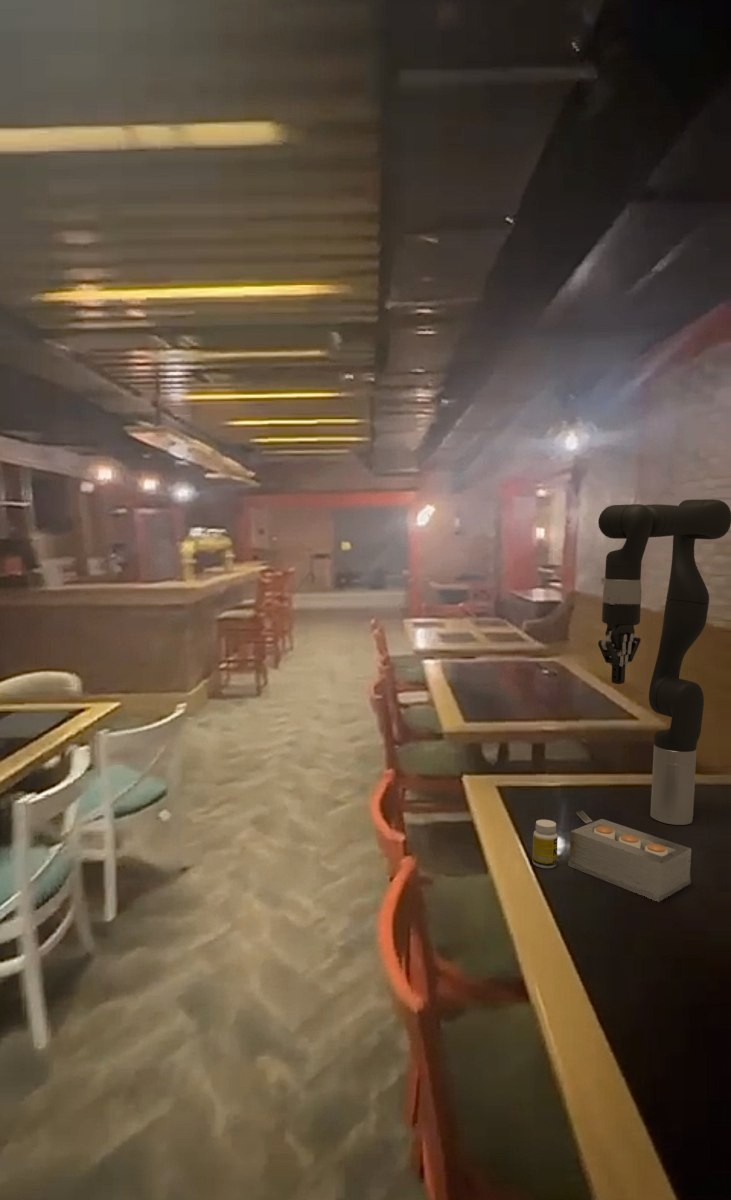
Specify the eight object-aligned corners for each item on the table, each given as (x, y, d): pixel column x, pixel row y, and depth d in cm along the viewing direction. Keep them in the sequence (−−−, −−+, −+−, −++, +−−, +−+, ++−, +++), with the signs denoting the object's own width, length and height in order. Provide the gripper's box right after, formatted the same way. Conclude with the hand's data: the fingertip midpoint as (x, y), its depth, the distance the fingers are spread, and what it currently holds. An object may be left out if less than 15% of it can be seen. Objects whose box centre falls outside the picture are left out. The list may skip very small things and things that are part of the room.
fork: (637, 843, 160) (638, 834, 160) (575, 820, 173) (575, 812, 173) (644, 840, 162) (644, 831, 162) (582, 818, 174) (582, 810, 174)
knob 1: (599, 852, 151) (601, 823, 150) (617, 858, 148) (618, 829, 147) (588, 857, 148) (589, 828, 148) (606, 864, 145) (607, 834, 145)
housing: (601, 850, 155) (603, 818, 154) (690, 883, 140) (692, 847, 140) (568, 865, 147) (569, 831, 147) (658, 902, 133) (660, 864, 132)
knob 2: (624, 861, 146) (625, 831, 146) (643, 868, 143) (644, 838, 143) (613, 866, 144) (614, 836, 143) (632, 874, 141) (633, 843, 140)
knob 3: (650, 871, 142) (652, 840, 142) (670, 878, 139) (672, 847, 139) (639, 876, 140) (641, 845, 139) (659, 884, 137) (661, 853, 136)
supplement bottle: (557, 870, 145) (558, 828, 144) (532, 867, 146) (534, 826, 145) (555, 860, 150) (557, 819, 149) (531, 857, 151) (533, 817, 150)
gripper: (622, 598, 161) (618, 677, 162) (587, 600, 152) (584, 683, 154) (655, 601, 155) (650, 682, 157) (620, 603, 147) (616, 689, 148)
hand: (617, 683), depth 155 cm, fingers closed
